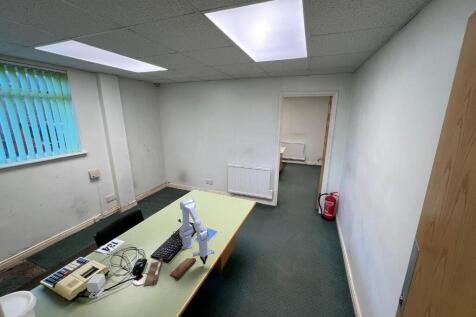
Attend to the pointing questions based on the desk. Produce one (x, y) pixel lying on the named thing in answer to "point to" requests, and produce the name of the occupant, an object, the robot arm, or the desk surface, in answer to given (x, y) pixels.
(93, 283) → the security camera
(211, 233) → the tablet computer
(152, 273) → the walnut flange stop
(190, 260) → the sunglasses case
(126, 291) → the desk surface
